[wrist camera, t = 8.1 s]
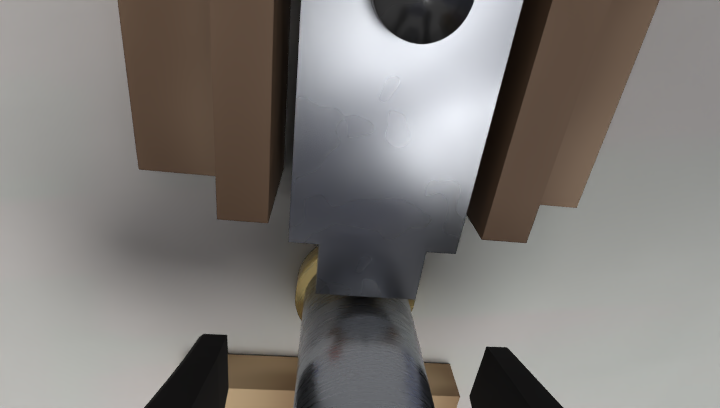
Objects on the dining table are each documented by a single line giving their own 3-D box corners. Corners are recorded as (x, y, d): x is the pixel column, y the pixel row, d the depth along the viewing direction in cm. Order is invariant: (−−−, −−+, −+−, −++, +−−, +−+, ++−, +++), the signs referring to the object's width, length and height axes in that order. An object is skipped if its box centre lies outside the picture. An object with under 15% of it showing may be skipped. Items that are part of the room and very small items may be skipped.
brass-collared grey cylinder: (418, 237, 15) (474, 396, 9) (402, 327, 16) (439, 507, 11) (298, 231, 14) (275, 394, 8) (296, 324, 16) (275, 509, 10)
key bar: (496, -88, 10) (585, -134, 7) (422, 244, 14) (451, 326, 11) (316, -117, 10) (305, -185, 6) (295, 234, 14) (281, 317, 10)
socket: (666, -86, 11) (805, -121, 7) (561, 194, 14) (626, 250, 11) (115, -181, 9) (3, -273, 6) (152, 157, 13) (92, 209, 10)
